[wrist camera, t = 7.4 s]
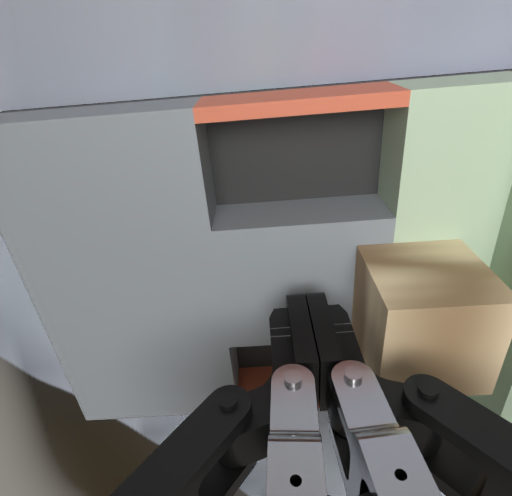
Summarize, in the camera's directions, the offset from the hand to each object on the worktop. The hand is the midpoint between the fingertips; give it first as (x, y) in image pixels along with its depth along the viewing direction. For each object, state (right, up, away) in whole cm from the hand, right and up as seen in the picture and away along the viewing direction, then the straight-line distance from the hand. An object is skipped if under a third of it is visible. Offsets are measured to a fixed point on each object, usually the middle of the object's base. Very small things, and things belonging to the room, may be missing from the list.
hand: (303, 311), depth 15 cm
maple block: (+4, +1, +1) cm, 4 cm away
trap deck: (-1, +2, +4) cm, 4 cm away
